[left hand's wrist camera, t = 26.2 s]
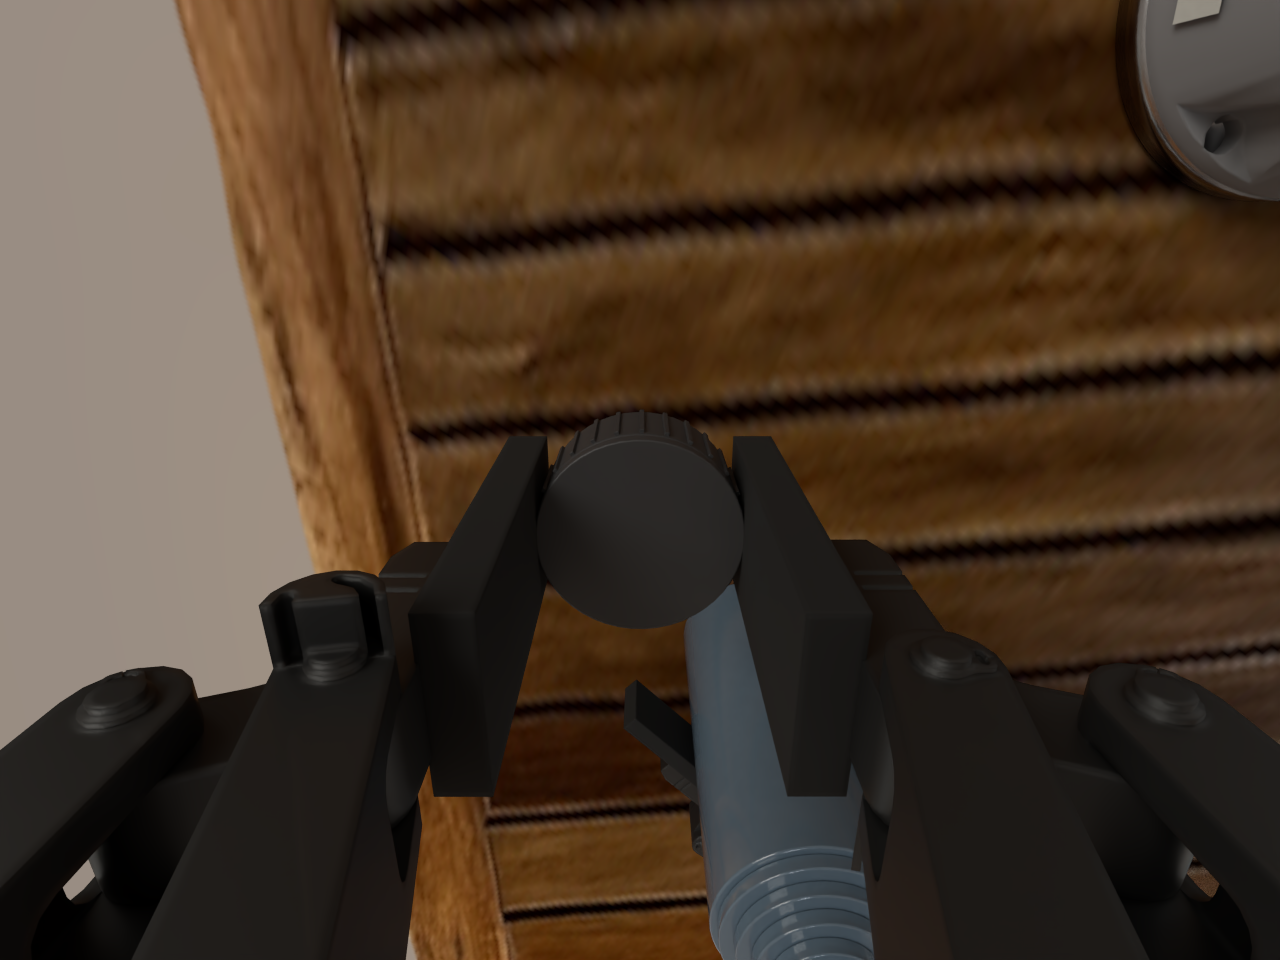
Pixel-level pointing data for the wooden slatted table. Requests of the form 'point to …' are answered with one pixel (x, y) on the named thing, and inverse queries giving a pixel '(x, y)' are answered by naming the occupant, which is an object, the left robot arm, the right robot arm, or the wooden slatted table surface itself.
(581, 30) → the wooden slatted table surface
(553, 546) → the cap
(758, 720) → the bottle
